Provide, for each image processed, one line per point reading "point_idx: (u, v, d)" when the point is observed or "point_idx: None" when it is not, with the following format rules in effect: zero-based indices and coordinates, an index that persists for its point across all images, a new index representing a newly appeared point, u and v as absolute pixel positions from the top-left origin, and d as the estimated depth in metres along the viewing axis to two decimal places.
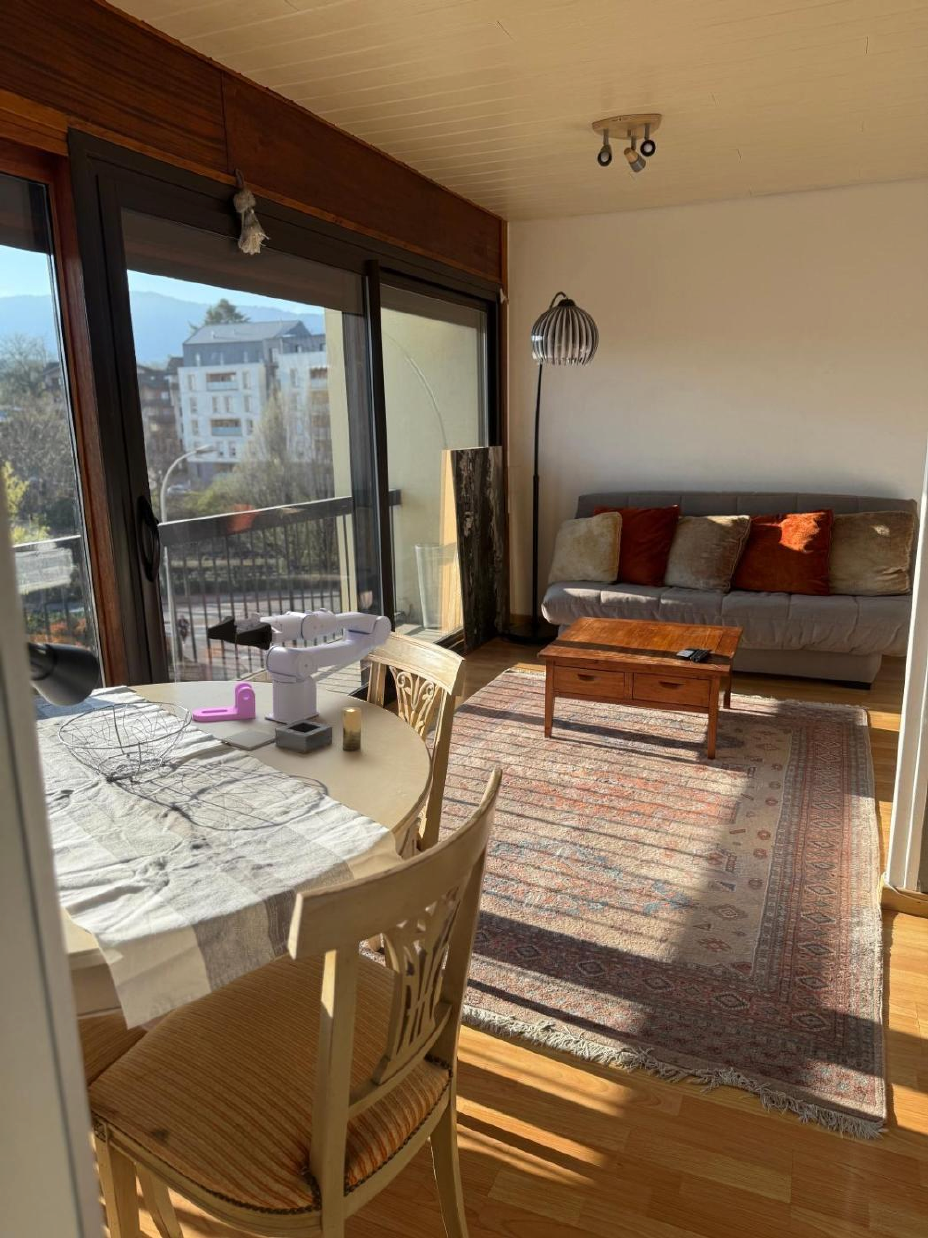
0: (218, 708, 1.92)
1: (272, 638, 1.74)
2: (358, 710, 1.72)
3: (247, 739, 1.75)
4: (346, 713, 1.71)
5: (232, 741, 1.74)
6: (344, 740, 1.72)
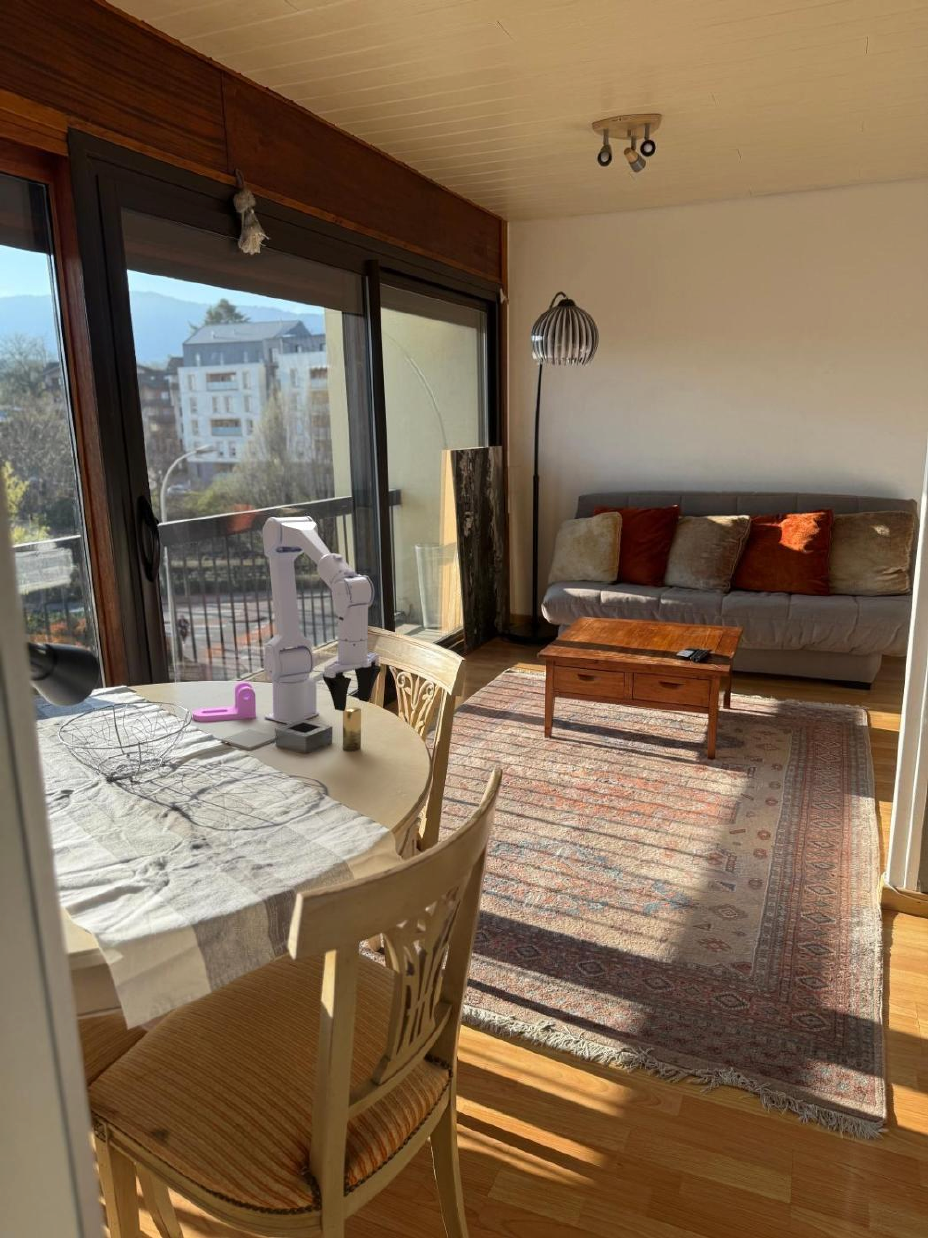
0: (218, 708, 1.92)
1: None
2: (358, 710, 1.72)
3: (247, 739, 1.75)
4: (346, 713, 1.71)
5: (232, 741, 1.74)
6: (344, 740, 1.72)
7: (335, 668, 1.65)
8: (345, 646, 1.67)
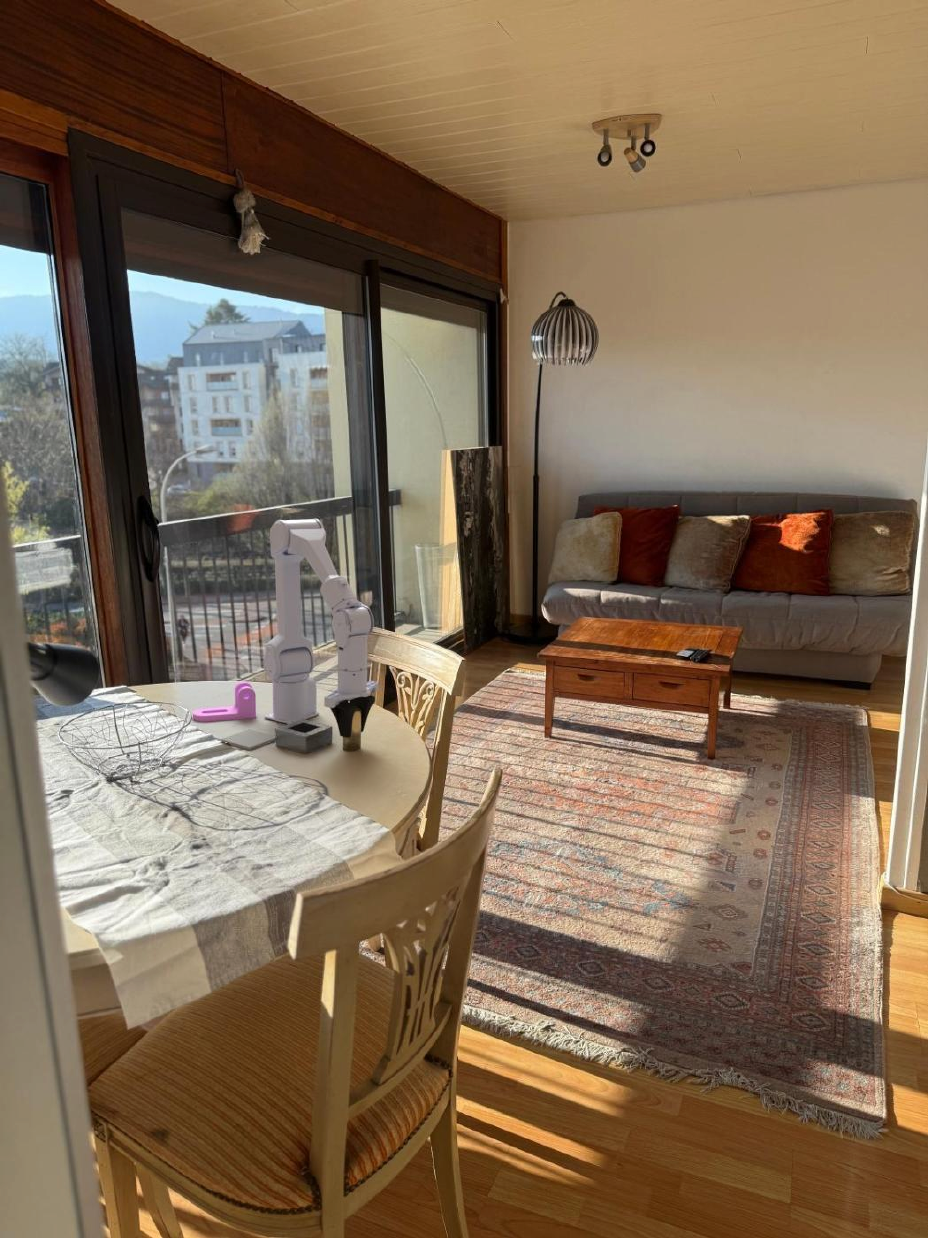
0: (218, 708, 1.92)
1: None
2: (358, 710, 1.72)
3: (247, 739, 1.75)
4: None
5: (232, 741, 1.74)
6: (344, 740, 1.72)
7: (335, 698, 1.66)
8: (345, 676, 1.68)
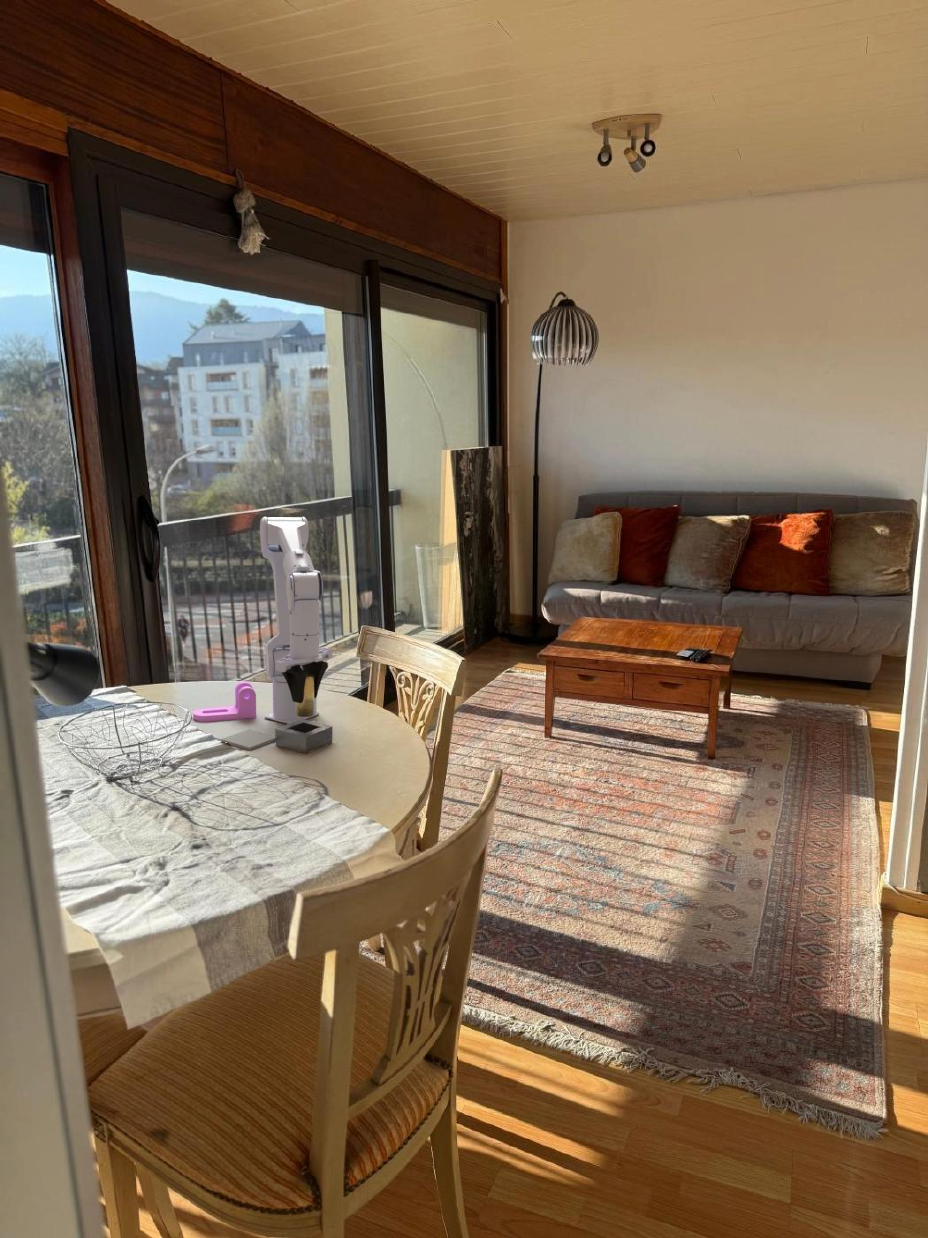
0: (218, 708, 1.92)
1: None
2: (311, 676, 1.72)
3: (247, 739, 1.75)
4: None
5: (232, 741, 1.74)
6: (297, 706, 1.72)
7: (286, 662, 1.66)
8: (296, 641, 1.68)
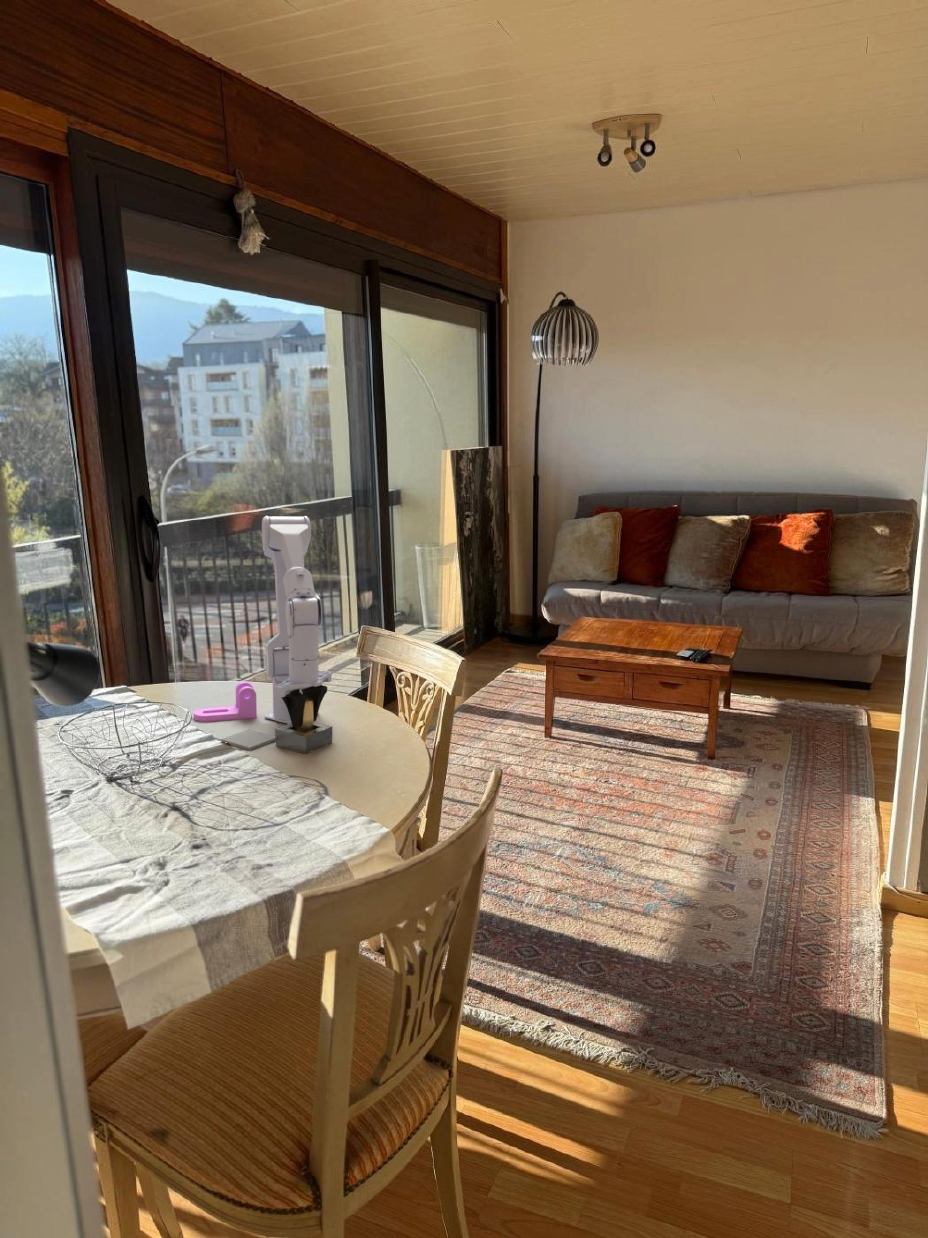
0: (219, 708, 1.92)
1: None
2: (310, 700, 1.73)
3: (247, 739, 1.75)
4: None
5: (232, 741, 1.74)
6: (296, 730, 1.73)
7: (285, 687, 1.67)
8: (296, 665, 1.69)
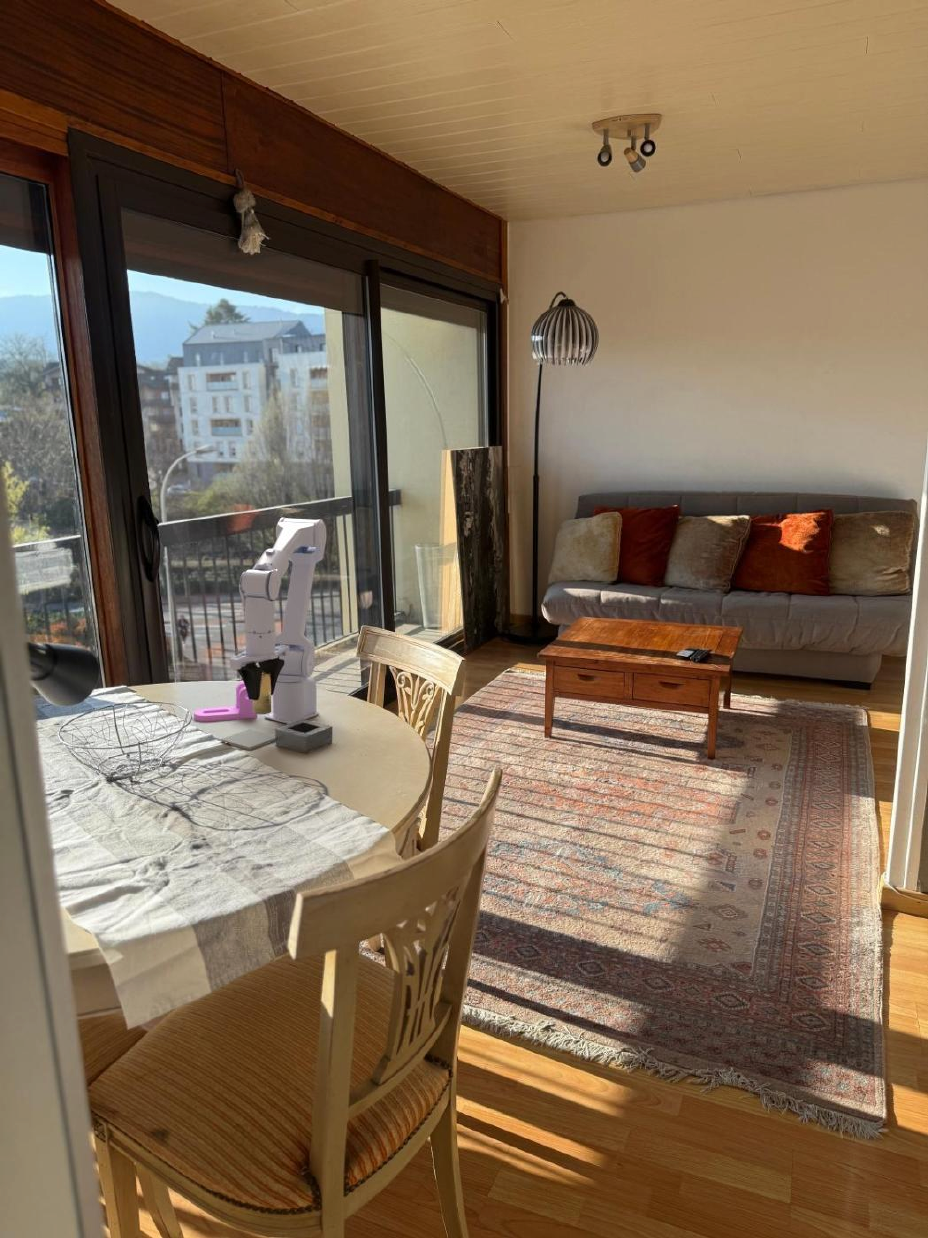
0: (219, 708, 1.92)
1: None
2: (268, 673, 1.73)
3: (247, 739, 1.75)
4: None
5: (232, 741, 1.74)
6: (254, 703, 1.73)
7: (240, 660, 1.66)
8: (251, 638, 1.69)
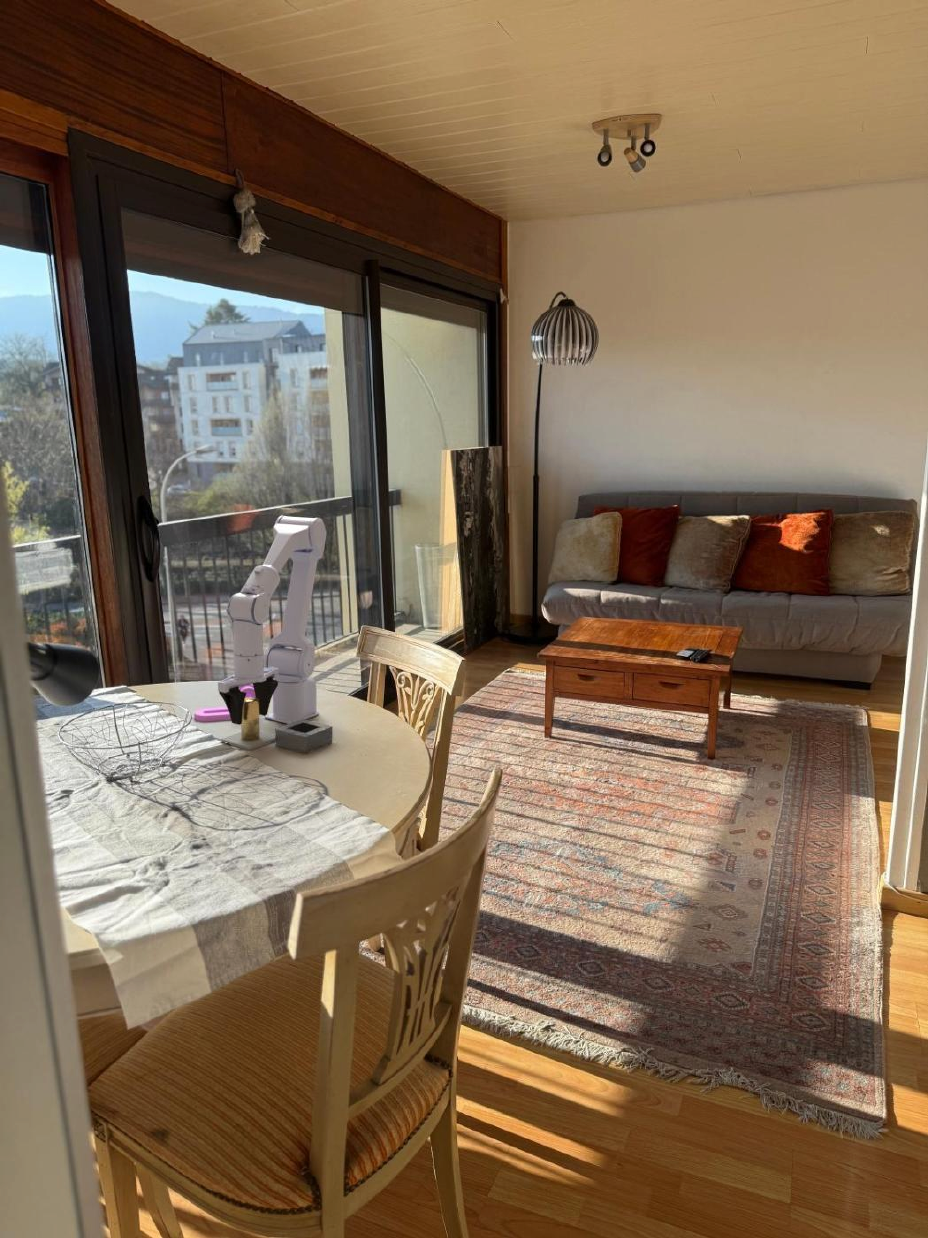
0: (220, 708, 1.92)
1: None
2: (256, 700, 1.74)
3: None
4: None
5: (232, 741, 1.74)
6: (242, 730, 1.74)
7: (228, 683, 1.68)
8: (240, 661, 1.70)
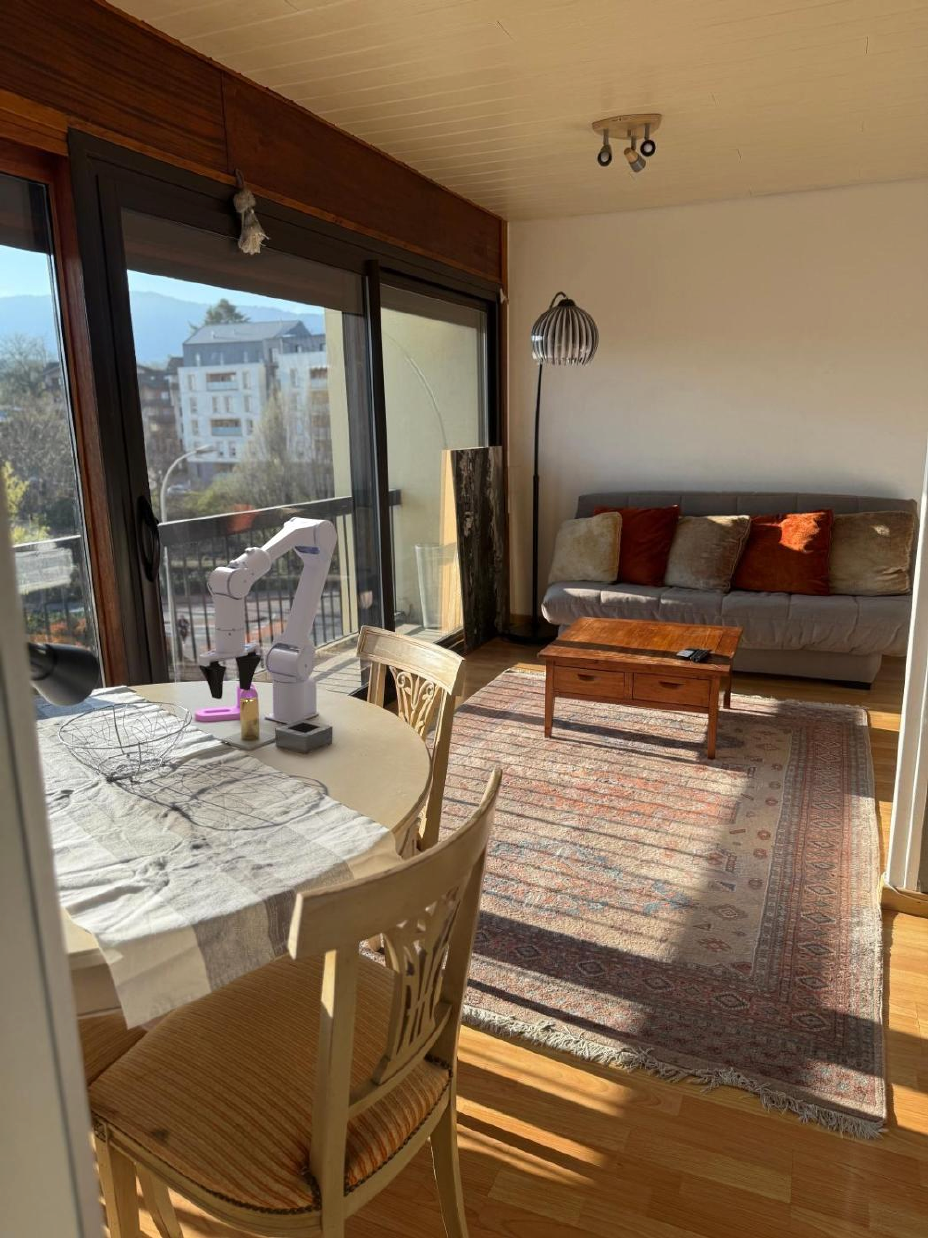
0: (220, 708, 1.92)
1: None
2: (255, 700, 1.74)
3: None
4: (243, 703, 1.73)
5: (232, 741, 1.74)
6: (242, 730, 1.74)
7: (209, 657, 1.68)
8: (221, 635, 1.70)
